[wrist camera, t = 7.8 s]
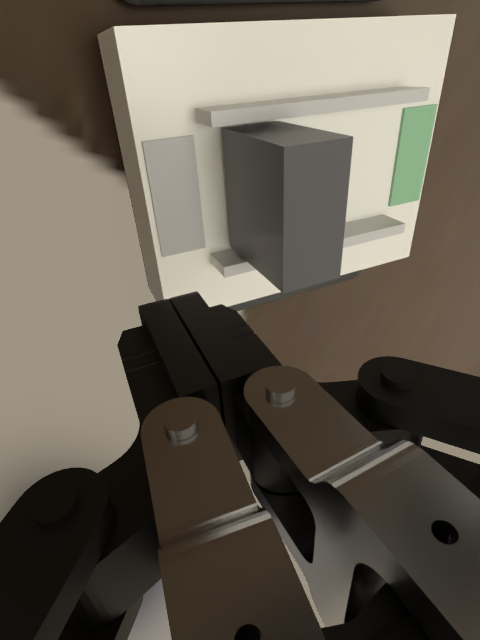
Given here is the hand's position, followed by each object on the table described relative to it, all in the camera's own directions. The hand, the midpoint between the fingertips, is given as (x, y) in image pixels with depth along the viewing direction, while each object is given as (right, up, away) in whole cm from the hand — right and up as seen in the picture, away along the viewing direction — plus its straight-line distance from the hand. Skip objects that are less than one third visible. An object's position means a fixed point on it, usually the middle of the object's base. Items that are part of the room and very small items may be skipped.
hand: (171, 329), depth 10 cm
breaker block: (+3, +11, +16) cm, 19 cm away
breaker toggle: (+2, +7, +11) cm, 13 cm away
